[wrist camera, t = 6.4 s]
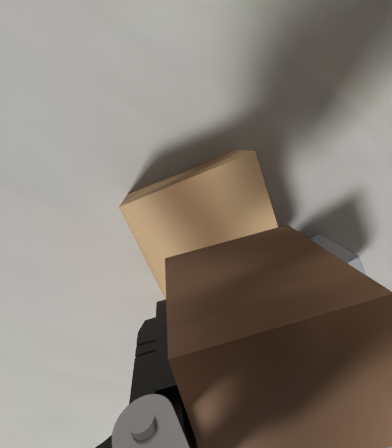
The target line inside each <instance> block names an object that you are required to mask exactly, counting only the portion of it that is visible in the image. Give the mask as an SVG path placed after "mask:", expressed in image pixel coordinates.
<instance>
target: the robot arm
mask: <svg viewBox="0 0 392 448" xmlns="http://www.w3.org/2000/svg"><path fill="white" fill-rule="evenodd" d="M135 356H136V358H135V362H134V370H133V378H132V387H131V395H130V403H129V405H128V406H127V407H126V408H125V409H124V410H123V412H122V413H121V414H120V416H119V418H118V419H117V421H116V423H115V426H114V429H113V432H112V435H111V436H110V437H109V438H108V439H107V440H106V441H104V442H103V443H101V444H100V445H99V446H97V447H96V448H199V447H198V444H197V441H196V438H195V435H194V432H193V429H192V427H191V424H190V421H189V418H188V415H187V412H186V409H185V407H184V404H183V401H182V398H181V395H180V392H179V389H178V387H177V384H176V381H175V378H174V375H173V372H172V369H171V367H170V364H169V361H168V342H167V311H166V300H162V301H159V302H157V307H156V317H155V318H152V319H148V320H145V322H144V323H143V325H142V327H141V328H140V330H139V332H138V337H137V347H136V354H135Z"/></svg>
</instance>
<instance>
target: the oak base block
mask: <svg viewBox="0 0 392 448" xmlns="http://www.w3.org/2000/svg"><path fill="white" fill-rule="evenodd" d="M119 208H120V210H121V212H122V214H123V216H124V218H125V220H126V222H127V224H128V226H129V228H130V230H131V232H132V234H133V236H134V238H135V240H136V242H137V244H138V246H139V248H140V250H141V252H142V254H143V256H144V258H145V260H146V262H147V264H148V266H149V268H150V270H151V272H152V274H153V276H154V278H155V280H156V282H157V284H158V286H159V288H160V290H161V291H162V293H163V295H164V297H165V299H166V279H165V258H168V257H172V256H175V255H179V254H182V253H186V252H190V251H193V250H197V249H201V248H204V247H208V246H212V245H215V244H219V243H223V242H226V241H230V240H234V239H237V238H241V237H245V236H248V235H252V234H255V233H259V232H263V231H266V230H270V229H274V228H277V227H278V225H277V222H276V218H275V215H274V212H273V208H272V205H271V201H270V198H269V195H268V191H267V188H266V185H265V181H264V178H263V174H262V171H261V168H260V164H259V161H258V158H257V154H256V151H249V150H238V149H237V150H234V151H232V152H229V153H227V154H225V155H222V156H220V157H217V158H215V159H212V160H210V161H207V162H205V163H203V164H200V165H198V166H195V167H193V168H190V169H188V170H185V171H183V172H181V173H178V174H176V175H173V176H171V177H168V178H166V179H163V180H161V181H159V182H156V183H154V184H151V185H149V186H146V187H144V188H142V189H139V190H137V191H134V192H132V193H129V194H127V196H126V197H125V199H124V200H123V202H122V203H121V205H120V206H119Z"/></svg>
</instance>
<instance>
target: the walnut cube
mask: <svg viewBox="0 0 392 448" xmlns="http://www.w3.org/2000/svg"><path fill="white" fill-rule="evenodd" d="M165 279H166V311H167V342H168V361H169V364H170V367H171V369H172V372H173V375H174V378H175V381H176V384H177V387H178V389H179V392H180V395H181V398H182V401H183V404H184V407H185V409H186V412H187V415H188V418H189V421H190V424H191V427H192V429H193V432H194V435H195V438H196V441H197V444H198V447H199V448H387V447H390V446H392V292H391V291H390V290H388V289H386V288H385V287H383V286H382V285H380V284H379V283H377V282H376V281H374V280H372V279H371V278H369V277H368V276H366V275H365V274H363V273H362V272H360V271H358V270H357V269H355V268H354V267H352V266H351V265H349V264H348V263H346V262H344V261H343V260H341V259H340V258H338V257H337V256H335V255H334V254H332V253H330V252H329V251H327V250H326V249H324V248H323V247H321V246H320V245H318V244H316V243H315V242H313V241H312V240H310V239H309V238H307V237H306V236H304V235H302V234H301V233H299V232H298V231H296V230H295V229H293V228H292V227H290V226H288V225H285V226H281V227H277V228H274V229H270V230H266V231H263V232H259V233H255V234H252V235H248V236H245V237H241V238H237V239H234V240H230V241H226V242H223V243H219V244H215V245H212V246H208V247H204V248H201V249H197V250H193V251H190V252H186V253H182V254H179V255H175V256H172V257H168V258H165Z"/></svg>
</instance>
